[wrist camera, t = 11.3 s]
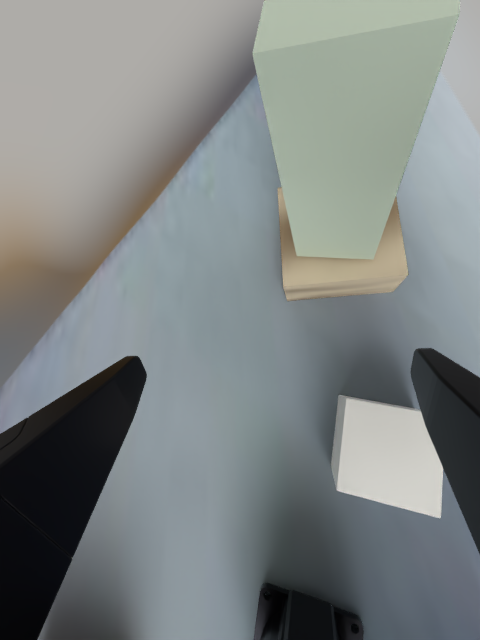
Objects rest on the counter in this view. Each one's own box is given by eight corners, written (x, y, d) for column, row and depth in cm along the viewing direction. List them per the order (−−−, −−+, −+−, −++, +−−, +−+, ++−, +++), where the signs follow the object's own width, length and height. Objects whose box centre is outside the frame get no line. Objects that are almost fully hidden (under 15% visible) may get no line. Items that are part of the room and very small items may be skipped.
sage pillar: (373, 259, 19) (459, 14, 7) (296, 256, 20) (252, 53, 8) (380, 192, 20) (465, -130, 8) (306, 194, 21) (279, -70, 9)
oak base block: (391, 293, 22) (408, 274, 18) (287, 301, 24) (283, 286, 20) (378, 201, 24) (391, 167, 20) (282, 216, 26) (277, 187, 22)
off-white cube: (408, 484, 19) (440, 518, 14) (330, 465, 20) (336, 490, 16) (413, 408, 20) (445, 416, 15) (338, 394, 21) (346, 398, 16)
